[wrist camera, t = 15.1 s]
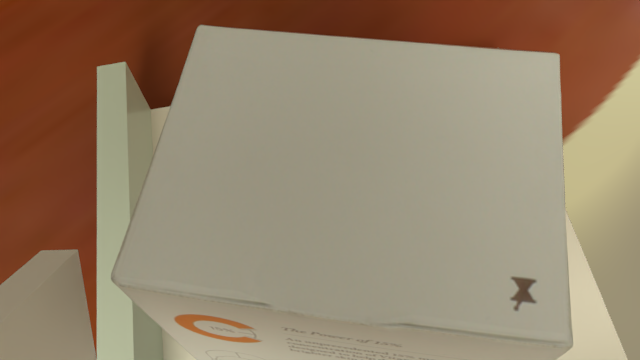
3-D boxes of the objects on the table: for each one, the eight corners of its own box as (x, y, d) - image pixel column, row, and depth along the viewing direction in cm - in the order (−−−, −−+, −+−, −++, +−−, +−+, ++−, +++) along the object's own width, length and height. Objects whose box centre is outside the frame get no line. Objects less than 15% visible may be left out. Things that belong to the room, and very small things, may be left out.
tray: (131, 123, 29) (96, 66, 25) (495, 58, 30) (515, -7, 26) (146, 628, 20) (96, 657, 16) (681, 518, 20) (755, 521, 17)
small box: (469, 266, 24) (571, 46, 12) (462, 439, 21) (586, 358, 10) (268, 241, 25) (192, 15, 13) (234, 403, 22) (99, 290, 11)
